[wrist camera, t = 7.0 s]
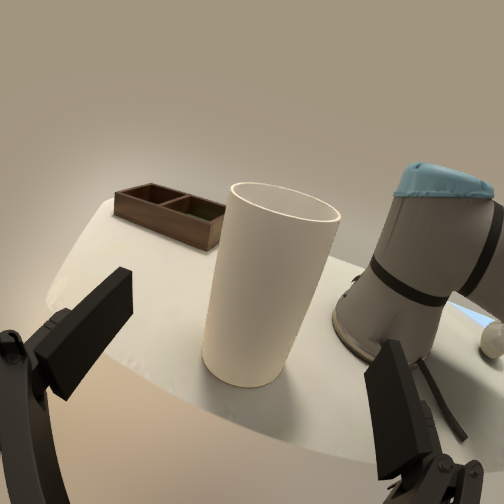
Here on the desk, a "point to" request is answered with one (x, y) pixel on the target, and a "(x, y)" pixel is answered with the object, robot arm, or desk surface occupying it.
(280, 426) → the desk surface
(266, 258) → the cup
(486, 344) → the garlic bulb
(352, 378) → the desk surface
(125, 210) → the holder
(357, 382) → the desk surface
